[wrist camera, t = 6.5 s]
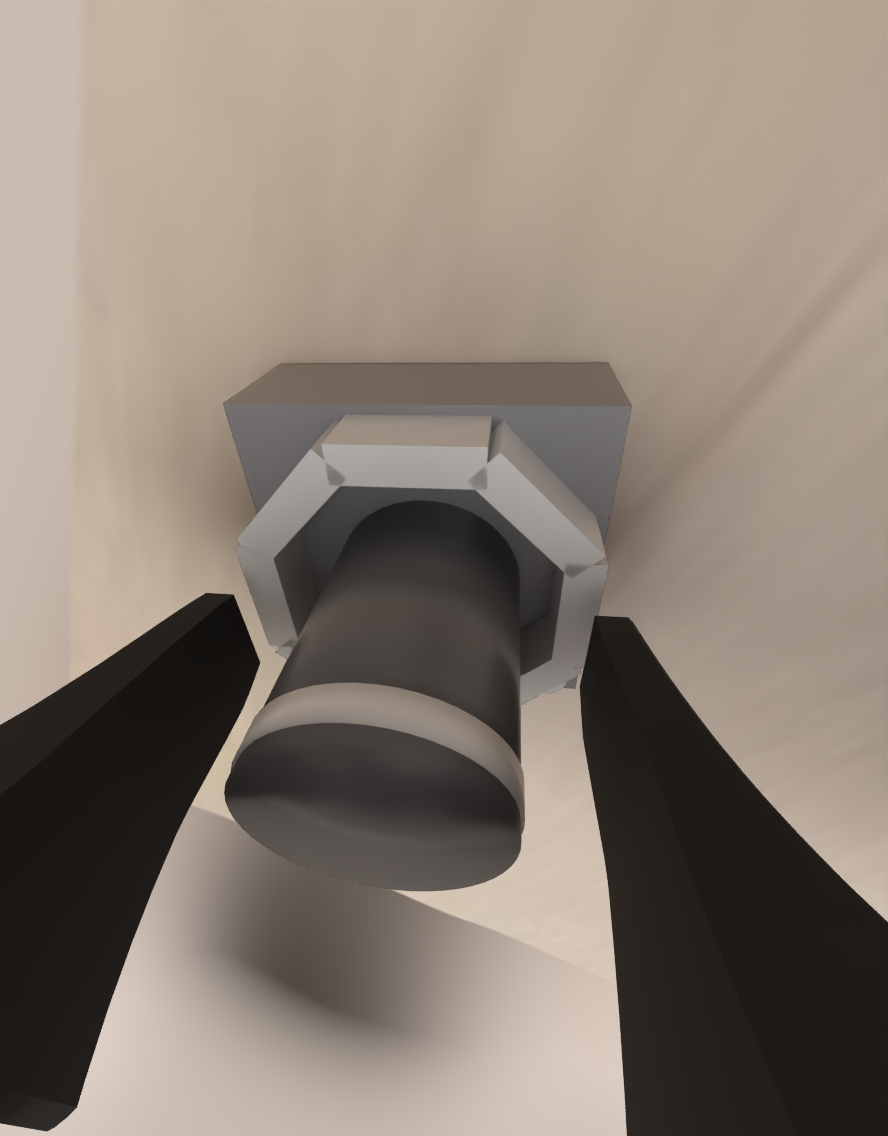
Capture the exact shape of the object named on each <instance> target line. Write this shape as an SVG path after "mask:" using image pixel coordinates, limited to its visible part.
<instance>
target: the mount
mask: <svg viewBox="0 0 888 1136" xmlns="http://www.w3.org/2000/svg"><path fill="white" fill-rule="evenodd" d="M223 406H224V409H225V412H226V415H227V419H228V422H229V425H230V428H231V432H232V435H233V438H234V441H235V444H236V448H237V451H238V454H239V457H240V461H241V464H242V467H243V470H244V473H245V477H246V480H247V483H248V486H249V490H250V493H251V496H252V499H253V502H254V506H255V509H256V512H257V515H256V516H255V518H254V519H253V520H252V521H251V523H250V524H249V525H248V526H247V527H246V529H245V530H244V531H243V532H242V534H241V535H240V536H239V537H238V538H237V540H236V541H237V542H238V543H239V544H238V546H237V547H236V548H235V551H236V554H237V557H238V560H239V562H240V565H241V568H242V571H243V573H244V576H245V579H246V582H247V585H248V587H249V590H250V593H251V596H252V598H253V601H254V604H255V607H256V609H257V612H258V615H259V618H260V621H261V623H262V626H263V629H264V632H265V634H266V637H267V640H268V643H269V645H270V646H278V648H277V649H276V651H275V652H276V653H278V654H279V655H281V656H282V657H284V658H285V659H288V657H289V655H290V653H291V651H292V649H293V647H294V645H295V643H296V641H297V639H298V637H299V635H300V633H301V631H302V629H303V627H304V625H305V623H306V621H307V619H308V617H309V615H310V613H311V611H312V609H313V607H314V606H315V604H316V602H317V600H318V598H319V596H320V594H321V592H322V590H323V588H324V586H325V584H326V582H327V580H328V578H329V576H330V574H331V572H332V570H333V568H334V566H335V564H336V562H337V560H338V558H339V556H340V554H341V552H342V550H343V548H344V546H345V544H346V542H347V540H348V538H349V536H350V534H351V533H352V531H353V530H354V529H355V527H356V526H357V525H358V524H359V523H360V522H361V521H362V520H363V519H365V518H366V517H367V516H369V515H370V514H372V513H374V512H375V511H377V510H379V509H381V508H384V507H386V506H389V505H392V504H396V503H401V502H406V501H416V500H418V501H435V502H443V503H447V504H450V505H454V506H457V507H460V508H463V509H465V510H468V511H470V512H472V513H474V514H475V515H477V516H479V517H481V518H482V519H484V520H485V521H487V522H488V523H489V524H491V525H492V526H493V527H494V528H495V529H496V530H497V531H498V532H499V533H500V534H501V535H502V536H503V537H504V539H505V540H506V541H507V543H508V544H509V546H510V547H511V549H512V551H513V553H514V555H515V558H516V560H517V564H518V568H519V575H520V699H521V705H522V704H524V703H526V702H528V701H530V700H532V699H534V698H535V697H537V696H539V695H541V694H551V693H554V692H557V691H559V690H561V689H562V688H572V689H575V687H576V682H577V677H578V676H579V675H581V668H584V665H585V660H586V655H587V650H588V646H589V641H590V636H591V631H592V626H593V622H594V617H595V616H598V613H599V609H600V604H601V599H602V595H603V590H604V585H605V581H606V576H607V571H608V567H609V566H608V562H607V557H606V553H605V549H604V543H605V538H606V533H607V528H608V523H609V518H610V513H611V508H612V503H613V498H614V493H615V488H616V483H617V478H618V473H619V468H620V463H621V458H622V453H623V448H624V443H625V438H626V433H627V428H628V423H629V418H630V413H631V408H632V406H631V404H630V402H629V400H628V398H627V396H626V395H625V393H624V391H623V389H622V387H621V385H620V384H619V382H618V380H617V378H616V376H615V374H614V373H613V371H612V369H611V367H610V365H609V363H418V364H280V365H278V366H277V367H276V368H274V369H273V370H271V371H270V372H268V373H267V374H265V375H264V376H262V377H261V378H259V379H258V380H256V381H255V382H253V383H252V384H250V385H249V386H248V387H246V388H245V389H243V390H242V391H240V392H239V393H237V394H236V395H234V396H233V397H231V398H230V399H228V400H227V401H225V402H224V403H223Z"/></svg>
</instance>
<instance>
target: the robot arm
mask: <svg viewBox="0 0 888 1136" xmlns="http://www.w3.org/2000/svg"><path fill="white" fill-rule="evenodd" d="M259 665H260V661H259V658H258V656H257V653H256V651H255V648H254V645H253V643H252V640H251V638H250V635H249V633H248V630H247V627H246V625H245V622H244V620H243V617H242V615H241V612H240V609H239V607H238V604H237V602H236V599H235V597H234V595H231V594H214V593H206V594H204V595H202V596H201V597H199V598H197V599H195V600H194V601H192V602H191V603H189V604H188V605H186V606H185V607H183V608H181V609H180V610H178V611H177V612H175V613H174V614H172V615H171V616H170V617H168V618H167V619H165V620H164V621H162V622H161V623H159V624H158V625H156V626H155V627H153V628H152V629H150V630H149V631H147V632H146V633H145V634H143V635H142V636H140V637H139V638H137V639H136V640H134V641H133V642H131V643H130V644H128V645H127V646H125V647H124V648H122V649H121V650H119V651H118V652H116V653H115V654H114V655H112V656H111V657H109V658H108V659H106V660H105V661H103V662H102V663H100V664H99V665H97V666H96V667H94V668H92V669H91V670H89V671H88V672H86V673H84V674H83V675H81V676H80V677H78V678H77V679H75V680H73V681H72V682H70V683H69V684H67V685H66V686H64V687H62V688H61V689H59V690H58V691H56V692H55V693H53V694H51V695H50V696H48V697H47V698H45V699H43V700H42V701H40V702H39V703H37V704H35V705H34V706H32V707H30V708H29V709H27V710H25V711H24V712H22V713H20V714H19V715H17V716H15V717H13V718H12V719H10V720H8V721H6V722H5V723H3V724H1V725H0V1123H2V1124H7V1125H13V1126H19V1127H24V1128H30V1129H36V1130H42V1131H49V1130H51V1129H52V1128H54V1127H56V1126H57V1125H58V1124H59V1123H60V1122H62V1121H63V1120H64V1119H66V1118H67V1117H68V1116H69V1115H70V1114H71V1113H72V1112H73V1111H74V1110H75V1109H76V1108H77V1105H78V1102H79V1099H80V1095H81V1092H82V1089H83V1085H84V1082H85V1079H86V1075H87V1072H88V1069H89V1066H90V1063H91V1060H92V1057H93V1054H94V1050H95V1048H96V1044H97V1041H98V1038H99V1035H100V1032H101V1029H102V1026H103V1023H104V1019H105V1017H106V1013H107V1010H108V1007H109V1005H110V1002H111V999H112V996H113V993H114V990H115V988H116V985H117V982H118V979H119V977H120V974H121V971H122V968H123V966H124V963H125V960H126V957H127V954H128V952H129V949H130V946H131V943H132V941H133V938H134V935H135V933H136V931H137V928H138V926H139V923H140V920H141V918H142V915H143V913H144V910H145V908H146V905H147V903H148V900H149V898H150V895H151V892H152V890H153V888H154V885H155V883H156V880H157V878H158V876H159V873H160V871H161V869H162V866H163V864H164V861H165V859H166V857H167V854H168V852H169V850H170V848H171V845H172V843H173V841H174V838H175V836H176V834H177V832H178V829H179V828H180V825H181V824H182V822H183V820H184V818H185V816H186V813H187V811H188V809H189V808H190V806H191V804H192V802H193V800H194V798H195V797H196V795H197V793H198V791H199V789H200V787H201V786H202V784H203V782H204V780H205V778H206V776H207V775H208V773H209V771H210V769H211V767H212V765H213V763H214V762H215V760H216V758H217V756H218V754H219V752H220V751H221V749H222V747H223V745H224V743H225V741H226V740H227V738H228V736H229V734H230V732H231V730H232V728H233V726H234V724H235V723H236V721H237V719H238V717H239V715H240V713H241V711H242V709H243V707H244V705H245V702H246V700H247V697H248V695H249V692H250V690H251V687H252V684H253V682H254V679H255V676H256V673H257V670H258V668H259ZM580 698H581V715H582V730H583V740H584V746H585V752H586V757H587V763H588V769H589V775H590V780H591V786H592V791H593V797H594V802H595V808H596V814H597V819H598V825H599V830H600V836H601V841H602V847H603V853H604V858H605V865H606V872H607V880H608V887H609V898H610V909H611V920H612V931H613V942H614V954H615V966H616V979H617V991H618V1004H619V1015H620V1016H619V1017H620V1030H621V1031H620V1032H621V1046H622V1061H623V1077H624V1091H625V1109H626V1127H627V1136H888V922H887V921H886V920H885V919H884V918H883V917H882V916H881V915H880V914H879V913H878V912H876V911H875V910H874V909H873V908H872V907H871V906H870V905H869V904H868V903H867V902H866V901H865V900H864V899H863V898H862V897H861V896H860V895H858V894H857V893H856V892H855V891H854V890H853V889H852V888H851V887H850V886H849V885H848V884H847V883H846V882H845V881H844V880H843V879H842V878H841V877H840V876H839V875H838V874H837V873H836V872H835V871H834V870H833V869H832V868H831V867H830V866H829V865H828V864H827V863H826V862H825V861H824V860H823V859H822V858H821V857H820V856H819V855H818V854H817V853H816V851H815V850H814V849H813V848H812V847H811V846H810V845H809V844H808V843H807V842H806V841H805V840H804V839H803V838H802V837H801V836H800V835H799V834H798V833H797V832H796V831H795V830H794V828H793V827H792V826H791V825H790V824H789V823H788V822H787V821H786V820H785V819H784V818H783V817H782V816H781V814H780V813H779V812H778V811H777V810H776V809H775V808H774V807H773V806H772V805H771V804H770V802H769V801H768V800H767V799H766V798H765V797H764V796H763V795H762V793H761V792H760V791H759V790H758V789H757V788H756V787H755V785H754V784H753V783H752V782H751V781H750V780H749V779H748V777H747V776H746V775H745V774H744V773H743V772H742V770H741V769H740V768H739V767H738V765H737V764H736V763H735V762H734V761H733V759H732V758H731V757H730V756H729V755H728V753H727V752H726V751H725V750H724V749H723V747H722V746H721V745H720V744H719V742H718V741H717V740H716V739H715V737H714V736H713V735H712V734H711V732H710V731H709V730H708V728H707V727H706V726H705V725H704V723H703V722H702V721H701V719H700V718H699V717H698V715H697V714H696V713H695V711H694V710H693V709H692V707H691V706H690V705H689V703H688V702H687V701H686V699H685V698H684V697H683V695H682V694H681V693H680V691H679V690H678V688H677V687H676V686H675V684H674V683H673V681H672V680H671V679H670V677H669V676H668V674H667V673H666V671H665V670H664V668H663V667H662V666H661V664H660V663H659V661H658V660H657V658H656V657H655V655H654V654H653V652H652V651H651V649H650V648H649V646H648V645H647V643H646V642H645V640H644V639H643V637H642V635H641V634H640V632H639V631H638V629H637V628H636V626H635V625H634V623H633V622H632V621H631V620H630V619H629V618H627V617H609V616H595V617H594V622H593V626H592V631H591V636H590V641H589V646H588V650H587V655H586V660H585V665H584V670H583V674H582V679H581V684H580Z"/></svg>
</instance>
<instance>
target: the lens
mask: <svg viewBox="0 0 888 1136" xmlns="http://www.w3.org/2000/svg"><path fill="white" fill-rule="evenodd" d="M224 794H225V801H226V804H227V806H228V809H229V811H230V813H231V814H232V816H233V818H234V819H235V820H236V822H237V823H238V824H239V825H240V826H241V827H242V829H243V830H245V831H246V832H247V833H248V834H249V835H250V836H251V837H252V838H254V839H255V840H257V841H258V842H259V843H260V844H262V845H263V846H265V847H266V848H268V849H269V850H271V851H273V852H274V853H276V854H278V855H280V856H282V857H283V858H285V859H287V860H289V861H292V862H294V863H296V864H298V865H300V866H302V867H305V868H308V869H310V870H313V871H316V872H318V873H321V874H324V875H327V876H330V877H333V878H337V879H341V880H344V881H348V882H352V883H357V884H361V885H366V886H372V887H378V888H385V889H393V890H405V891H443V890H452V889H459V888H465V887H470V886H473V885H477V884H481V883H484V882H486V881H489V880H491V879H493V878H495V877H497V876H499V875H500V874H502V873H504V872H505V871H506V870H507V869H509V868H510V867H511V866H512V865H513V863H514V862H515V861H516V860H517V857H518V855H519V853H520V849H521V835H522V833H523V830H524V822H525V803H524V776H523V770H522V767H521V699H520V575H519V568H518V564H517V560H516V558H515V555H514V553H513V551H512V549H511V547H510V546H509V544H508V543H507V541H506V540H505V539H504V537H503V536H502V535H501V534H500V533H499V532H498V531H497V530H496V529H495V528H494V527H493V526H492V525H491V524H489V523H488V522H487V521H485V520H484V519H482V518H481V517H479V516H477V515H475V514H474V513H472V512H470V511H468V510H465V509H463V508H460V507H457V506H454V505H450V504H447V503H443V502H435V501H418V500H416V501H406V502H401V503H396V504H392V505H389V506H386V507H384V508H381V509H379V510H377V511H375V512H374V513H372V514H370V515H369V516H367V517H366V518H365V519H363V520H362V521H361V522H360V523H359V524H358V525H357V526H356V527H355V529H354V530H353V531H352V533H351V534H350V536H349V538H348V540H347V542H346V544H345V546H344V548H343V550H342V552H341V554H340V556H339V558H338V560H337V562H336V564H335V566H334V568H333V570H332V572H331V574H330V576H329V578H328V580H327V582H326V584H325V586H324V588H323V590H322V592H321V594H320V596H319V598H318V600H317V602H316V604H315V606H314V607H313V609H312V611H311V613H310V615H309V617H308V619H307V621H306V623H305V625H304V627H303V629H302V631H301V633H300V635H299V637H298V639H297V641H296V643H295V645H294V647H293V649H292V651H291V653H290V655H289V657H288V659H287V661H286V663H285V665H284V667H283V669H282V671H281V673H280V675H279V677H278V679H277V681H276V683H275V685H274V687H273V689H272V691H271V693H270V695H269V697H268V699H267V701H266V703H265V705H264V707H263V708H262V709H261V710H260V711H259V713H258V714H257V715H256V716H255V718H254V720H253V722H252V724H251V726H250V727H249V729H248V731H247V733H246V735H245V737H244V739H243V741H242V743H241V745H240V747H239V749H238V751H237V753H236V755H235V757H234V760H233V762H232V766H231V773H230V775H229V777H228V779H227V781H226V784H225V791H224Z"/></svg>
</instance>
